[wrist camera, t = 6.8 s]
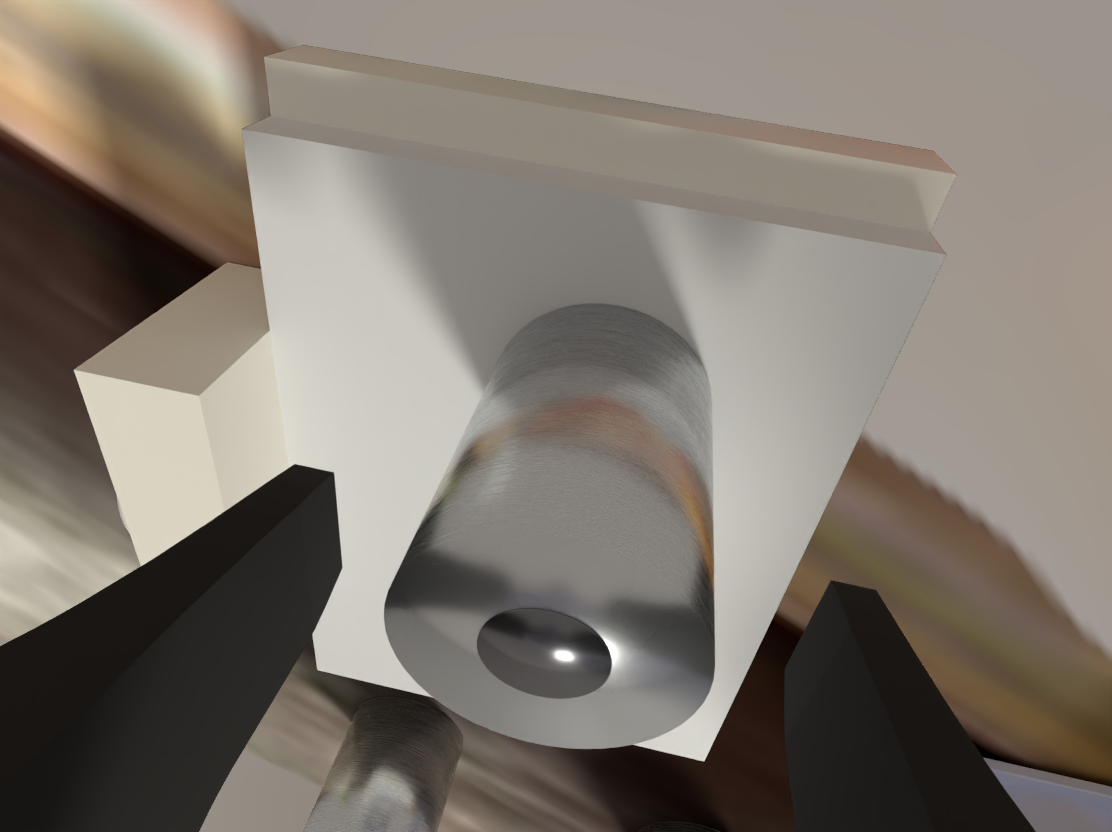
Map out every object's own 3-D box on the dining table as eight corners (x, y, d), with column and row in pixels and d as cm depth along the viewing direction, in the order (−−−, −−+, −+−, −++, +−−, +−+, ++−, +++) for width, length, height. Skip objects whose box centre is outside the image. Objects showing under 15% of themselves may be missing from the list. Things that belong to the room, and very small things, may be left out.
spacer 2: (666, 511, 15) (647, 783, 10) (475, 450, 15) (367, 695, 10) (749, 346, 13) (775, 605, 8) (519, 272, 13) (403, 488, 8)
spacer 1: (465, 712, 26) (410, 893, 21) (461, 771, 29) (410, 944, 24) (353, 685, 26) (272, 857, 22) (358, 746, 29) (288, 912, 24)
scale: (933, 150, 13) (1038, 255, 9) (697, 704, 23) (694, 867, 19) (163, 21, 14) (-64, 61, 10) (272, 606, 24) (186, 741, 20)
